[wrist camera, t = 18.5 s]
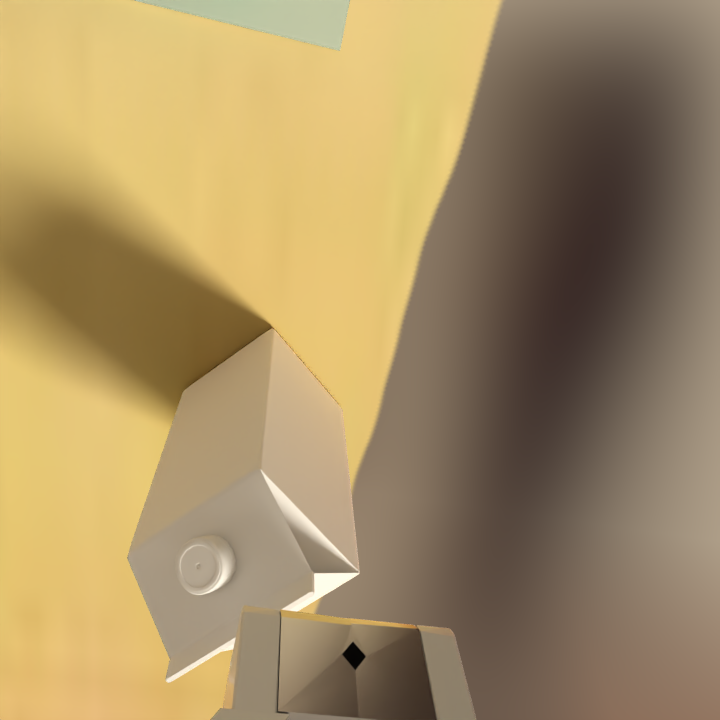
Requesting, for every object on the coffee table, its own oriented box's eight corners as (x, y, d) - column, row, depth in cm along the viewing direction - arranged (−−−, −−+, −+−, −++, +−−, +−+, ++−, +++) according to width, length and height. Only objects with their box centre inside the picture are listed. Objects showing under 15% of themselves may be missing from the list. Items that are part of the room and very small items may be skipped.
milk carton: (343, 407, 44) (368, 646, 27) (255, 466, 45) (226, 729, 28) (273, 325, 41) (251, 532, 24) (182, 390, 42) (99, 629, 25)
